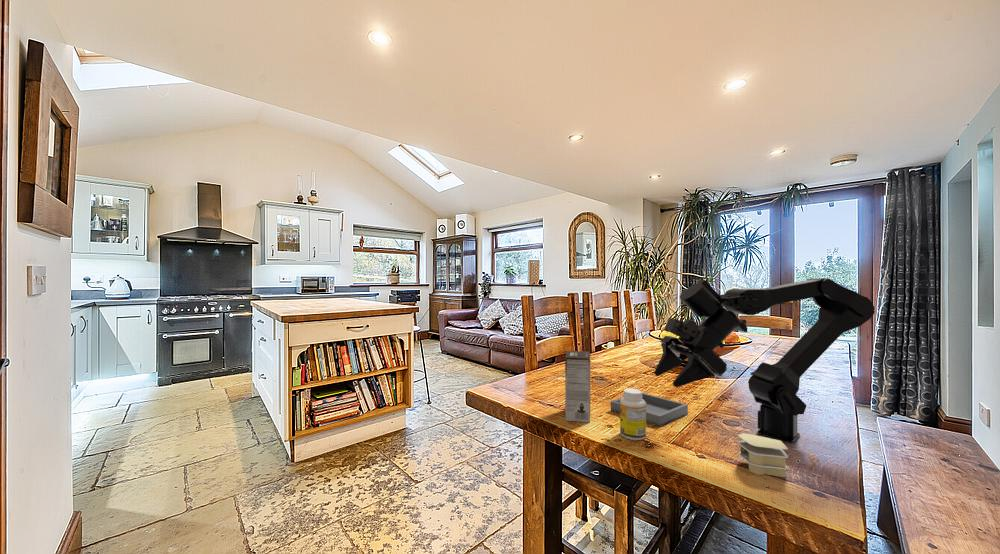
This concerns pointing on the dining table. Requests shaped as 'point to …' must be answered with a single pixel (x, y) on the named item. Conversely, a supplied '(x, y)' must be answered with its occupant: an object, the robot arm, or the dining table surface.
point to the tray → (658, 409)
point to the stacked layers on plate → (763, 455)
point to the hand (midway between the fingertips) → (664, 379)
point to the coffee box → (577, 386)
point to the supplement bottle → (633, 415)
